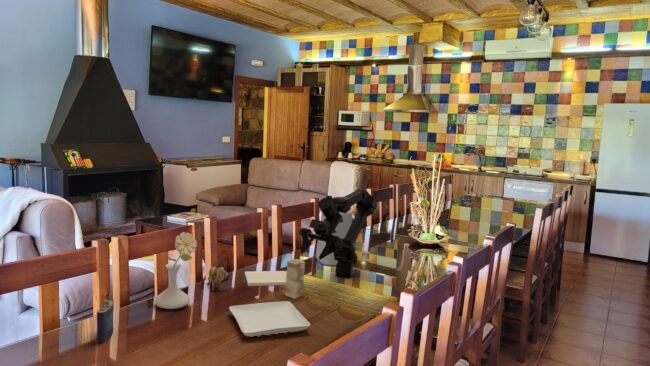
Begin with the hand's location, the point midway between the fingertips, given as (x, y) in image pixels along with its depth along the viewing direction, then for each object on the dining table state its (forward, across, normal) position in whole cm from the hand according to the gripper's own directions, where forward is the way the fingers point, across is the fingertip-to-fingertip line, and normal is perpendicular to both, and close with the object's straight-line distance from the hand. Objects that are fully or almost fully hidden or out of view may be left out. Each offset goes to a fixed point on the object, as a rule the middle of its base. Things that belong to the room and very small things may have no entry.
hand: (310, 256), depth 183 cm
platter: (+11, -18, +8) cm, 23 cm away
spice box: (+15, 0, +4) cm, 16 cm away
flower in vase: (+42, -20, -22) cm, 51 cm away
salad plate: (+33, +11, -13) cm, 37 cm away
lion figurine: (+26, -26, -7) cm, 37 cm away
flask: (+61, -14, -42) cm, 75 cm away
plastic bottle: (-18, -17, +37) cm, 45 cm away
